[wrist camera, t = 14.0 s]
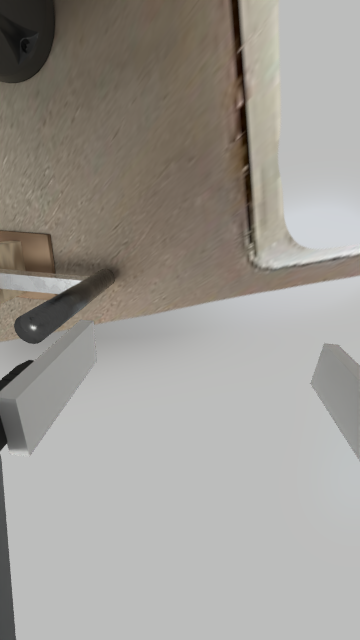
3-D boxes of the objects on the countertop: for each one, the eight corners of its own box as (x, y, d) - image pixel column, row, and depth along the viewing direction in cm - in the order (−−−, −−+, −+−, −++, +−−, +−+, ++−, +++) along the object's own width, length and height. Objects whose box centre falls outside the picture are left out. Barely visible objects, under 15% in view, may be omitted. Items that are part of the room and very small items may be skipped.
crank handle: (12, 260, 43) (-140, 299, 24) (114, 269, 42) (42, 316, 23) (15, 277, 44) (-126, 327, 25) (115, 286, 44) (47, 345, 24)
